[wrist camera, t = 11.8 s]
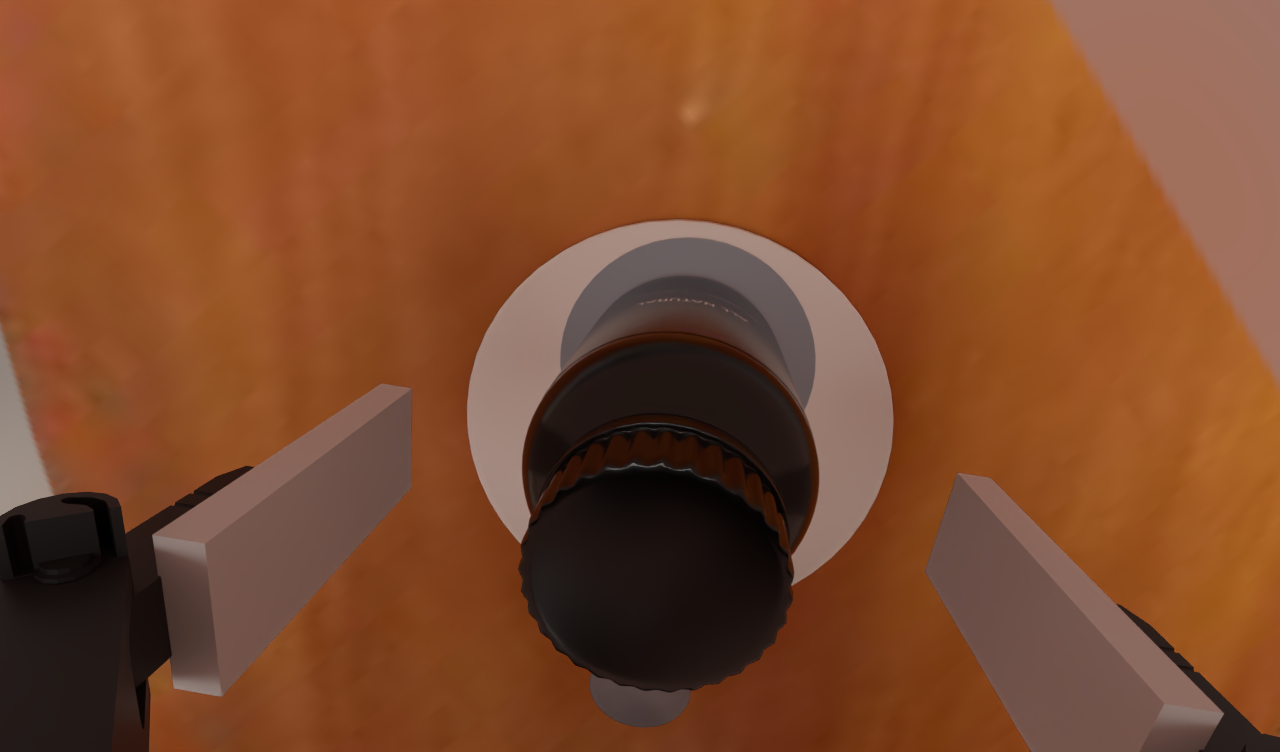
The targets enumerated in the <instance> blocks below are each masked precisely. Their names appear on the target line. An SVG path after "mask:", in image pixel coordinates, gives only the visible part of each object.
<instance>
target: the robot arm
mask: <svg viewBox="0 0 1280 752" xmlns="http://www.w3.org/2000/svg"><path fill="white" fill-rule="evenodd" d="M411 433H412V388H407V387H400V386H394V385H387V384H380V385H378V386H377V387H375V388H374V389H372V390H371V391H369V392H368V393H366V394H365V395H363V396H362V397H360V398H359V399H357V400H356V401H354V402H353V403H351V404H350V405H348V406H347V407H345V408H344V409H342V410H341V411H339V412H338V413H336V414H335V415H333V416H332V417H330V418H329V419H327V420H326V421H324V422H322V423H321V424H319V425H318V426H316V427H315V428H313V429H312V430H310V431H309V432H307V433H306V434H304V435H303V436H301V437H300V438H298V439H297V440H295V441H294V442H292V443H291V444H289V445H288V446H286V447H285V448H283V449H282V450H280V451H279V452H277V453H276V454H274V455H273V456H271V457H270V458H268V459H266V460H265V461H263V462H262V463H260V464H259V465H257V466H256V467H250V466H245V467H242V468H239V469H236V470H233V471H231V472H228V473H225V474H222V475H219V476H217V477H215V478H213V479H212V480H210V481H209V482H207V483H206V484H204V485H202V486H201V487H199V488H198V489H196V490H194V493H193V494H188V495H186V496H185V497H183V498H182V499H180V500H178V501H177V502H175V505H174V506H171V505H170V506H169V507H167V508H166V509H164V510H162V511H161V512H159V513H158V514H156V515H155V516H153V517H151V518H150V519H148V520H147V521H145V522H143V523H142V524H140V525H139V526H137V527H135V528H134V529H132V530H131V531H129V532H127V533H126V534H125V530H124V523H123V517H122V511H121V506H120V504H119V501H118V499H117V498H114V497H112V496H110V495H107V494H104V493H93V492H79V493H66V494H60V495H55V496H51V497H46V498H41V499H37V500H35V501H32V502H29V503H26V504H23V505H20V506H18V507H15V508H13V509H12V510H10V511H8V512H7V513H5V514H3V515H1V516H0V752H149V728H150V696H151V695H150V688H149V682H148V677H149V676H150V675H151V674H153V673H154V672H155V671H156V670H157V669H158V668H159V667H160V666H161V665H162V664H163V663H165V662H166V661H167V660H168V659H169V658H170V664H171V671H172V678H173V685H174V688H175V689H181V690H186V691H192V692H198V693H203V694H209V695H215V696H221V697H222V696H223V695H224V694H225V693H226V691H227V690H228V689H229V688H230V687H231V686H232V685H233V684H234V683H235V682H236V680H237V679H238V678H239V677H240V676H241V675H242V674H243V673H244V672H245V671H246V669H247V668H248V667H249V666H250V665H251V664H252V663H253V662H254V661H255V660H256V658H257V657H258V656H259V655H260V654H261V653H262V652H263V651H264V650H265V649H266V647H267V646H268V645H269V644H270V643H271V642H272V641H273V640H274V639H275V638H276V636H277V635H278V634H279V633H280V632H281V631H282V630H283V629H284V628H285V627H286V625H287V624H288V623H289V622H290V621H291V620H292V619H293V618H294V617H295V616H296V614H297V613H298V612H299V611H300V610H301V609H302V608H303V607H304V606H305V604H306V603H307V602H308V601H309V600H310V599H311V598H312V597H313V596H314V595H315V593H316V592H317V591H318V590H319V589H320V588H321V587H322V586H323V585H324V584H325V582H326V581H327V580H328V579H329V578H330V577H331V576H332V575H333V574H334V573H335V571H336V570H337V569H338V568H339V567H340V566H341V565H342V564H343V563H344V562H345V560H346V559H347V558H348V557H349V556H350V555H351V554H352V553H353V552H354V551H355V549H356V548H357V547H358V546H359V545H360V544H361V543H362V542H363V541H364V540H365V538H366V537H367V536H368V535H369V534H370V533H371V532H372V531H373V530H374V528H375V527H376V526H377V525H378V524H379V523H380V522H381V521H382V520H383V519H384V517H385V516H386V515H387V514H388V513H389V512H390V511H391V510H392V509H393V508H394V506H395V505H396V504H397V503H398V502H399V501H400V500H401V499H402V498H403V497H404V495H405V494H406V493H407V492H408V491H409V490H410V489H411ZM925 573H926V574H927V576H928V578H929V579H930V581H931V583H932V584H933V586H934V588H935V590H936V591H937V593H938V595H939V596H940V598H941V600H942V601H943V603H944V605H945V606H946V608H947V610H948V612H949V613H950V615H951V617H952V618H953V620H954V622H955V623H956V625H957V627H958V629H959V630H960V632H961V634H962V635H963V637H964V639H965V640H966V642H967V644H968V646H969V647H970V649H971V651H972V652H973V654H974V656H975V657H976V659H977V661H978V663H979V664H980V666H981V668H982V669H983V671H984V673H985V674H986V676H987V678H988V680H989V681H990V683H991V685H992V686H993V688H994V690H995V691H996V693H997V695H998V696H999V698H1000V700H1001V702H1002V703H1003V705H1004V707H1005V708H1006V710H1007V712H1008V713H1009V715H1010V717H1011V719H1012V720H1013V722H1014V724H1015V725H1016V727H1017V729H1018V730H1019V732H1020V734H1021V736H1022V737H1023V739H1024V741H1025V742H1026V744H1027V746H1028V747H1029V749H1030V751H1031V752H1280V737H1276V736H1271V735H1267V734H1261V733H1260V732H1259V731H1258V730H1257V729H1256V728H1255V727H1254V726H1253V725H1252V724H1251V723H1250V722H1249V721H1248V720H1247V719H1246V718H1245V717H1244V716H1243V715H1242V714H1241V713H1240V712H1239V711H1238V710H1237V709H1236V708H1235V707H1233V706H1232V705H1231V704H1230V703H1229V702H1228V701H1227V700H1226V699H1225V698H1224V697H1223V696H1222V695H1221V694H1220V693H1219V692H1218V691H1217V690H1216V689H1215V688H1214V687H1213V686H1212V685H1211V684H1210V683H1209V682H1208V681H1207V680H1206V679H1205V678H1204V677H1203V676H1202V675H1201V674H1200V673H1199V672H1194V670H1193V668H1194V667H1193V666H1192V665H1191V664H1190V663H1189V662H1187V661H1186V660H1185V659H1184V658H1183V657H1182V656H1181V655H1180V654H1179V653H1175V652H1174V648H1173V647H1172V646H1171V645H1170V644H1169V643H1168V642H1167V641H1166V640H1165V639H1164V638H1163V637H1162V636H1161V635H1160V634H1159V633H1158V632H1157V631H1156V630H1155V629H1154V628H1153V627H1152V626H1150V625H1149V624H1148V623H1146V622H1145V621H1143V620H1142V619H1140V618H1139V617H1137V616H1136V615H1134V614H1133V613H1131V612H1130V611H1128V610H1127V609H1126V608H1124V607H1123V606H1121V605H1118V604H1115V603H1114V602H1113V601H1112V600H1111V599H1110V598H1109V597H1108V596H1107V595H1106V594H1105V593H1104V592H1103V591H1102V590H1101V589H1100V588H1099V587H1098V586H1097V585H1096V584H1095V583H1094V582H1093V581H1092V580H1091V579H1090V578H1089V577H1088V576H1087V575H1086V574H1085V573H1084V572H1083V571H1082V570H1081V569H1080V568H1079V567H1078V566H1077V565H1076V564H1075V563H1074V562H1073V561H1072V560H1071V559H1070V558H1069V557H1068V556H1067V555H1066V554H1065V553H1064V551H1063V550H1062V549H1061V548H1060V547H1059V546H1058V545H1057V544H1056V543H1055V542H1054V541H1053V540H1052V539H1051V538H1050V537H1049V536H1048V535H1047V534H1046V533H1045V532H1044V531H1043V530H1042V529H1041V528H1040V527H1039V526H1038V525H1037V524H1036V523H1035V522H1034V521H1033V520H1032V519H1031V518H1030V517H1029V516H1028V515H1027V514H1026V513H1025V512H1024V511H1023V510H1022V509H1021V508H1020V507H1019V506H1018V505H1017V504H1016V503H1015V502H1014V501H1013V500H1012V499H1011V498H1010V497H1009V496H1008V495H1007V494H1006V493H1005V492H1004V491H1003V490H1002V489H1001V488H1000V487H999V486H998V485H997V484H996V483H995V482H994V481H993V480H992V479H991V478H988V477H982V476H975V475H969V474H962V473H957V476H956V479H955V482H954V485H953V488H952V491H951V494H950V497H949V500H948V503H947V506H946V509H945V512H944V515H943V518H942V521H941V524H940V527H939V530H938V533H937V536H936V539H935V542H934V545H933V548H932V551H931V554H930V557H929V560H928V563H927V566H926V569H925Z"/></svg>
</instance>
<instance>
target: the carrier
mask: <svg viewBox="0 0 1280 752" xmlns="http://www.w3.org/2000/svg"><path fill="white" fill-rule="evenodd" d="M670 276H693V277H701V278H705V279H709V280H713V281H716V282H719V283H721V284H723V285H725V286H728V287H730V288H731V289H733V290H735V291H737V292H738V293H739V294H741V295H742V296H744V297H745V298H746V299H747V300H748V301H750V302H751V303H752V304H753V305H754V306H755V307H756V308H757V309H758V310H759V312H760V313H761V314H762V315H763V317H764V318H765V319H766V321H767V322H768V324H769V326H770V327H771V329H772V331H773V333H774V336H775V338H776V340H777V342H778V344H779V347H780V349H781V352H782V354H783V357H784V360H785V362H786V365H787V367H788V370H789V372H790V375H791V378H792V380H793V383H794V385H795V388H796V391H797V393H798V396H799V398H800V401H801V403H802V406H803V409H804V411H805V414H806V416H807V419H808V422H809V425H810V428H811V431H812V434H813V437H814V441H815V446H816V450H817V455H818V462H819V491H818V499H817V503H816V508H815V512H814V515H813V518H812V521H811V524H810V526H809V528H808V530H807V532H806V534H805V536H804V538H803V540H802V542H801V543H800V545H799V546H798V548H797V550H796V551H795V552H794V554H793V555H792V556H791V557H792V562H793V567H794V579H793V582H792V584H791V585H794V584H796V583H797V582H799V581H800V580H802V579H804V578H805V577H807V576H808V575H810V574H812V573H813V572H814V571H816V570H817V569H818V568H819V567H821V566H822V565H823V564H824V563H826V562H827V561H828V560H829V559H831V558H832V557H833V556H834V555H835V554H836V553H837V552H838V551H839V550H840V549H841V548H842V547H843V545H844V544H845V543H846V542H847V541H848V540H849V539H850V538H851V537H852V535H853V534H854V533H855V531H856V530H857V529H858V527H859V526H860V524H861V523H862V522H863V520H864V519H865V517H866V516H867V514H868V512H869V510H870V508H871V506H872V505H873V503H874V501H875V499H876V497H877V495H878V492H879V490H880V487H881V484H882V482H883V479H884V477H885V474H886V471H887V466H888V462H889V457H890V453H891V448H892V436H893V423H894V419H893V406H892V393H891V389H890V385H889V380H888V376H887V372H886V367H885V365H884V362H883V360H882V357H881V354H880V352H879V349H878V347H877V344H876V342H875V340H874V338H873V336H872V335H871V333H870V331H869V329H868V328H867V326H866V324H865V322H864V321H863V319H862V317H861V316H860V314H859V313H858V312H857V311H856V309H855V308H854V307H853V305H852V304H851V303H850V302H849V300H848V299H847V298H846V297H845V295H844V294H843V293H842V292H841V291H840V290H839V289H838V288H837V287H836V286H835V285H834V284H833V283H832V282H831V281H830V280H828V279H827V278H826V277H825V276H824V275H823V274H822V273H821V272H820V271H819V270H818V269H817V268H815V267H814V266H812V265H811V264H810V263H808V262H807V261H805V260H804V259H803V258H801V257H800V256H798V255H797V254H796V253H794V252H793V251H791V250H789V249H787V248H785V247H784V246H782V245H780V244H778V243H776V242H774V241H772V240H770V239H768V238H766V237H764V236H761V235H758V234H755V233H753V232H750V231H747V230H744V229H741V228H739V227H735V226H730V225H725V224H720V223H716V222H711V221H702V220H689V219H666V220H649V221H644V222H639V223H634V224H629V225H624V226H619V227H616V228H613V229H610V230H608V231H605V232H602V233H599V234H596V235H593V236H591V237H589V238H587V239H585V240H583V241H581V242H579V243H577V244H575V245H573V246H571V247H569V248H567V249H566V250H564V251H562V252H561V253H560V254H558V255H557V256H555V257H554V258H552V259H551V260H549V261H548V262H547V263H545V264H544V265H542V266H541V267H539V268H538V269H537V270H536V271H535V272H534V273H532V274H531V275H530V276H529V277H528V278H527V279H526V280H525V281H524V282H523V283H522V284H521V285H520V286H518V287H517V289H516V290H515V291H514V292H513V293H512V295H511V296H510V297H509V298H508V300H507V301H506V302H505V303H504V305H503V306H502V307H501V308H500V310H499V311H498V313H497V315H496V316H495V318H494V320H493V321H492V323H491V325H490V326H489V328H488V330H487V331H486V334H485V336H484V338H483V341H482V343H481V346H480V348H479V350H478V353H477V355H476V359H475V362H474V366H473V370H472V374H471V378H470V383H469V392H468V402H467V422H468V435H469V441H470V447H471V453H472V457H473V460H474V464H475V467H476V470H477V473H478V477H479V479H480V482H481V484H482V486H483V488H484V490H485V492H486V495H487V497H488V499H489V501H490V503H491V504H492V506H493V508H494V509H495V511H496V512H497V514H498V516H499V517H500V519H501V520H502V522H503V523H504V524H505V526H506V527H507V528H508V529H509V531H510V532H511V533H512V534H513V536H514V537H515V538H516V539H517V540H518V542H520V543H521V542H522V539H523V537H524V535H525V533H526V531H527V529H528V524H529V519H530V517H531V514H530V512H529V509H528V506H527V502H526V498H525V494H524V488H523V482H522V454H523V447H524V441H525V437H526V434H527V430H528V427H529V424H530V422H531V419H532V417H533V415H534V413H535V411H536V409H537V407H538V405H539V403H540V401H541V400H542V398H543V396H544V394H545V393H546V392H547V390H548V389H549V387H550V386H551V384H552V383H553V381H554V380H555V378H556V377H557V376H558V374H559V373H560V372H561V370H562V369H563V367H564V366H565V365H566V363H567V362H568V361H569V359H570V358H571V356H572V355H573V354H574V352H575V351H576V350H577V348H578V347H579V345H580V344H581V343H582V341H583V340H584V338H585V337H586V336H587V334H588V333H589V332H590V330H591V329H592V327H593V326H594V325H595V323H596V322H597V321H598V319H599V318H600V317H601V316H602V315H603V313H604V312H605V311H606V310H607V309H608V308H609V307H610V306H611V305H612V304H613V303H614V302H615V301H616V300H617V299H618V298H620V297H621V296H622V295H623V294H625V293H627V292H628V291H630V290H631V289H633V288H635V287H637V286H639V285H641V284H643V283H646V282H649V281H652V280H655V279H659V278H664V277H670ZM590 691H591V694H592V697H593V699H594V701H595V703H596V704H597V706H598V707H599V708H600V709H601V710H602V711H603V712H604V713H605V714H606V715H608V716H609V717H610V718H612V719H614V720H616V721H618V722H620V723H623V724H626V725H629V726H634V727H655V726H660V725H663V724H666V723H668V722H670V721H672V720H674V719H675V718H676V717H678V716H679V715H680V714H681V713H682V712H683V711H684V709H685V708H686V706H687V704H688V701H689V698H690V690H684V689H681V690H677V691H675V692H671V693H668V692H664V691H660V690H652V691H643V690H640V689H638V688H635V687H633V686H619V685H618V684H616V683H614V682H613V681H611V680H609V679H603V678H598V677H596V676H595V675H593V674H592V673H591V678H590Z"/></svg>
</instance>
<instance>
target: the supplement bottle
mask: <svg viewBox="0 0 1280 752" xmlns="http://www.w3.org/2000/svg"><path fill="white" fill-rule="evenodd" d="M522 482H523V488H524V494H525V498H526V502H527V506H528V509H529V512H530V514H531V517H530V519H529V524H528V529H527V531H526V533H525V535H524V537H523V539H522V542H521V553H522V558H521V560H520V563H519V568H518V569H519V572H520V575H521V576H522V579H523V582H522V588H521V592H522V593H523V595H524V597H525V598H526V599H527V601H528V611H529V613H530V615H531V616H532V617H533V618H534V619H535V620H536V621H537V622H538V626H539V629H540V632H541V633H542V634H543V635H544V636H546V637H547V638H549V639H550V640H551V641H552V643H553V645H554V647H555V649H556V650H557V651H559V652H560V653H563V654H565V655H567V656H568V657H569V658H570V660H571V661H572V662H573V663H574V664H575V665H576V666H579V667H582V668H585V669H588V670H589V671H590V672H591V673H592V674H593V675H595V676H596V677H598V678H603V679H609V680H611V681H613V682H614V683H616V684H618V685H619V686H633V687H635V688H638V689H640V690H643V691H652V690H660V691H664V692H668V693H671V692H675V691H677V690H681V689H684V690H697V689H699V688H701V687H702V686H704V685H708V684H719V683H720V682H721V681H723V680H724V679H725V678H726V677H727V676H732V675H736V674H740V673H741V672H742V671H743V670H744V668H745V667H746V666H747V665H748V664H750V663H753V662H755V661H757V660H759V659H760V657H761V655H762V653H763V651H764V649H766V648H767V647H769V646H771V645H772V644H774V643H775V640H776V635H777V631H778V630H779V629H781V628H782V627H783V626H784V625H785V624H786V621H787V609H788V608H789V606H790V605H791V603H792V601H793V590H792V585H791V584H792V582H793V579H794V567H793V562H792V557H791V556H792V555H793V554H794V552H795V551H796V550H797V548H798V546H799V545H800V543H801V542H802V540H803V538H804V536H805V534H806V532H807V530H808V528H809V526H810V524H811V521H812V518H813V515H814V512H815V508H816V503H817V499H818V491H819V462H818V455H817V450H816V446H815V441H814V437H813V434H812V431H811V428H810V425H809V422H808V419H807V416H806V414H805V411H804V409H803V406H802V403H801V401H800V398H799V396H798V393H797V391H796V388H795V385H794V383H793V380H792V378H791V375H790V372H789V370H788V367H787V365H786V362H785V360H784V357H783V354H782V352H781V349H780V347H779V344H778V342H777V340H776V338H775V336H774V333H773V331H772V329H771V327H770V326H769V324H768V322H767V321H766V319H765V318H764V317H763V315H762V314H761V313H760V312H759V310H758V309H757V308H756V307H755V306H754V305H753V304H752V303H751V302H750V301H748V300H747V299H746V298H745V297H744V296H742V295H741V294H739V293H738V292H737V291H735V290H733V289H731V288H730V287H728V286H725V285H723V284H721V283H719V282H716V281H713V280H709V279H705V278H701V277H693V276H670V277H664V278H659V279H655V280H652V281H649V282H646V283H643V284H641V285H639V286H637V287H635V288H633V289H631V290H630V291H628V292H627V293H625V294H623V295H622V296H621V297H620V298H618V299H617V300H616V301H615V302H614V303H613V304H612V305H611V306H610V307H609V308H608V309H607V310H606V311H605V312H604V313H603V315H602V316H601V317H600V318H599V319H598V321H597V322H596V323H595V325H594V326H593V327H592V329H591V330H590V332H589V333H588V334H587V336H586V337H585V338H584V340H583V341H582V343H581V344H580V345H579V347H578V348H577V350H576V351H575V352H574V354H573V355H572V356H571V358H570V359H569V361H568V362H567V363H566V365H565V366H564V367H563V369H562V370H561V372H560V373H559V374H558V376H557V377H556V378H555V380H554V381H553V383H552V384H551V386H550V387H549V389H548V390H547V392H546V393H545V394H544V396H543V398H542V400H541V401H540V403H539V405H538V407H537V409H536V411H535V413H534V415H533V417H532V419H531V422H530V424H529V427H528V430H527V434H526V437H525V441H524V447H523V454H522Z"/></svg>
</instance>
